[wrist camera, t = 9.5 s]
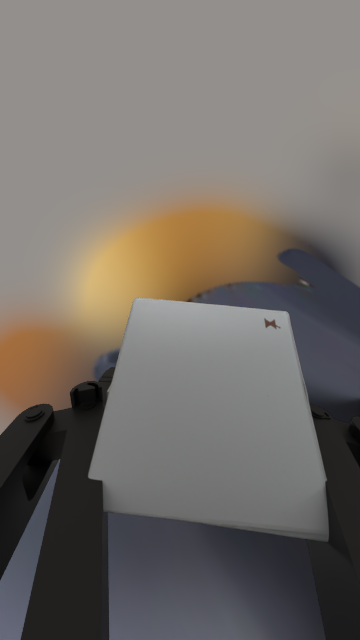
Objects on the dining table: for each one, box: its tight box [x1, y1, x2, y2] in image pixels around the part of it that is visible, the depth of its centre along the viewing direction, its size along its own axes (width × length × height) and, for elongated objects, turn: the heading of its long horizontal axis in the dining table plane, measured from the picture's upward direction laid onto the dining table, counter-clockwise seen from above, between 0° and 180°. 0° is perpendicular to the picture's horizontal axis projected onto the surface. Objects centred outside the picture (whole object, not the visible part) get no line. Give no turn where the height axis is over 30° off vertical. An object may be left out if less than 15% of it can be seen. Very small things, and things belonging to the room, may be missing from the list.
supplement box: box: [88, 298, 329, 542], centre depth 12 cm, size 7×7×13 cm
